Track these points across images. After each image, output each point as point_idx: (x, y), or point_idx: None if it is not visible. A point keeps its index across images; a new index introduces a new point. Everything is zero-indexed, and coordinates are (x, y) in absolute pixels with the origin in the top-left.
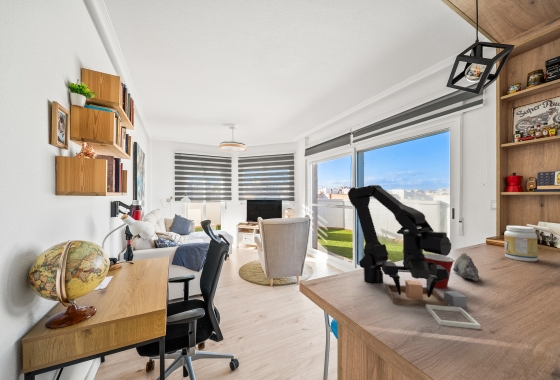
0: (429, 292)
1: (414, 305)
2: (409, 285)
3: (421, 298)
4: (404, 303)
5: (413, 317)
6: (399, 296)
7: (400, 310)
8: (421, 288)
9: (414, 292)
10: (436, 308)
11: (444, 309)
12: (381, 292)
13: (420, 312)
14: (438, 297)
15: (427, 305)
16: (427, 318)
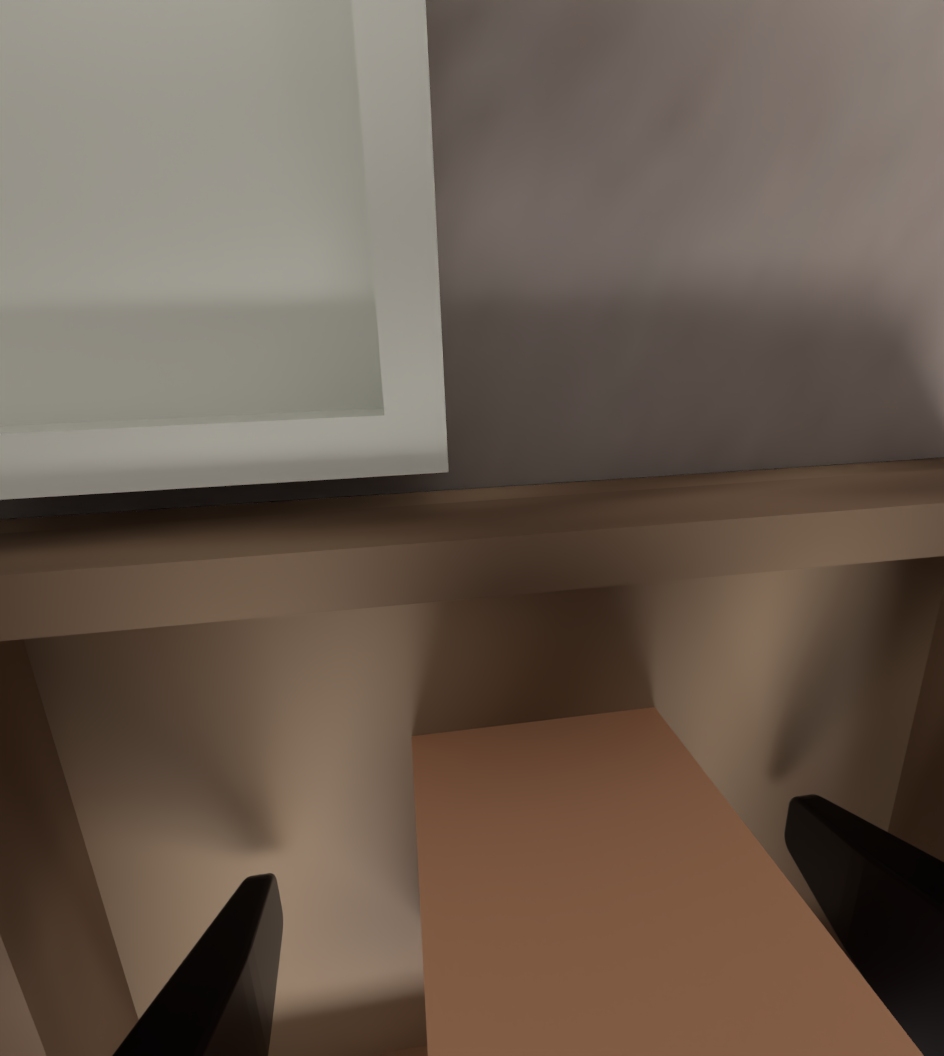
0: (218, 985)
1: (643, 486)
2: (890, 1042)
3: (441, 767)
4: (835, 481)
5: (791, 25)
6: (774, 785)
7: (909, 303)
8: (467, 1024)
9: (624, 849)
10: (221, 419)
11: (36, 426)
12: None
13: (572, 311)
14: (48, 915)
15: (423, 408)
16: (520, 39)
